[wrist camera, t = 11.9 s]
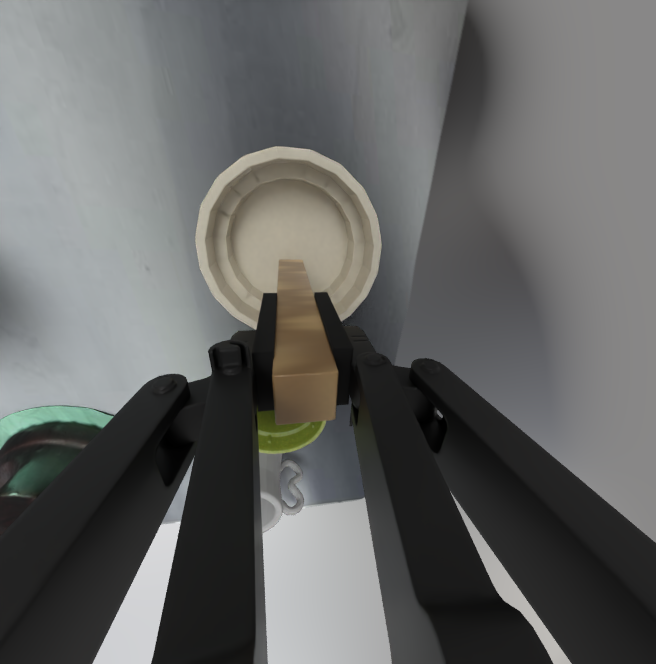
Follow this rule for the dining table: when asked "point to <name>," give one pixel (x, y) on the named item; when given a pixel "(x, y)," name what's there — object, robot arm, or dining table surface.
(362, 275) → the bowl
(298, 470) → the mug
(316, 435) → the plant pot
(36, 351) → the dining table surface
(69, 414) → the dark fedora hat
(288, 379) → the stirring stick
